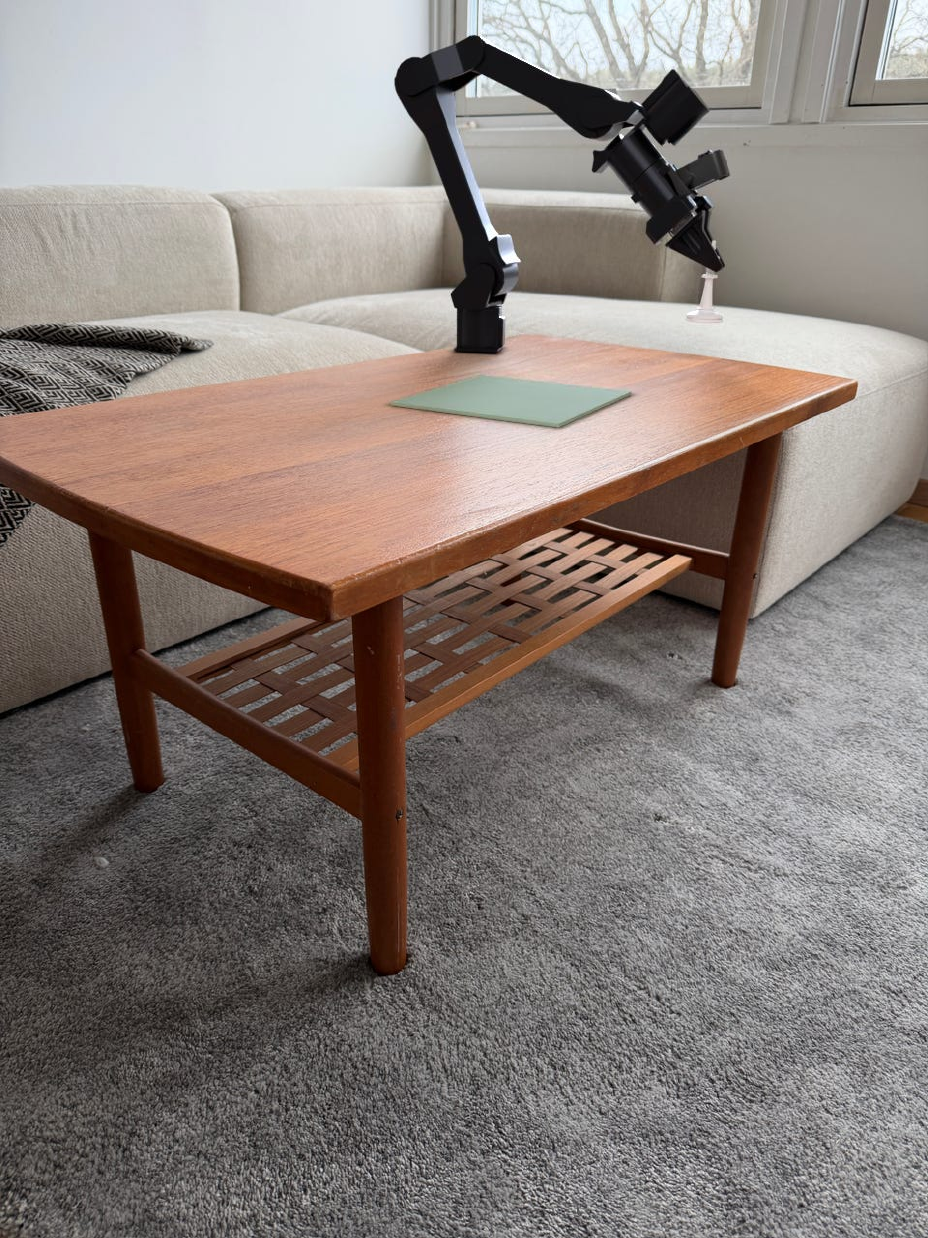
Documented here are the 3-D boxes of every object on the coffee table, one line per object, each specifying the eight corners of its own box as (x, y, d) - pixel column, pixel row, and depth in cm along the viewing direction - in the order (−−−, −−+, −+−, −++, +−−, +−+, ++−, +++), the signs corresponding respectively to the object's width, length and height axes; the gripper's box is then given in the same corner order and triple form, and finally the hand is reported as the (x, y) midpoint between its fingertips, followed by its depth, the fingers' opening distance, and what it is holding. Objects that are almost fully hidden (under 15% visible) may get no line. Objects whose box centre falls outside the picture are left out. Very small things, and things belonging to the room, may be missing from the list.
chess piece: (725, 320, 124) (736, 240, 120) (719, 324, 120) (730, 241, 116) (689, 317, 126) (698, 239, 122) (681, 321, 122) (691, 240, 117)
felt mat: (390, 405, 99) (390, 401, 99) (480, 377, 115) (480, 374, 114) (558, 427, 90) (558, 423, 90) (631, 394, 106) (631, 391, 105)
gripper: (683, 118, 106) (766, 224, 107) (707, 129, 122) (779, 221, 123) (611, 191, 112) (690, 291, 113) (642, 193, 128) (712, 280, 129)
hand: (721, 269), depth 120 cm, fingers closed on chess piece
